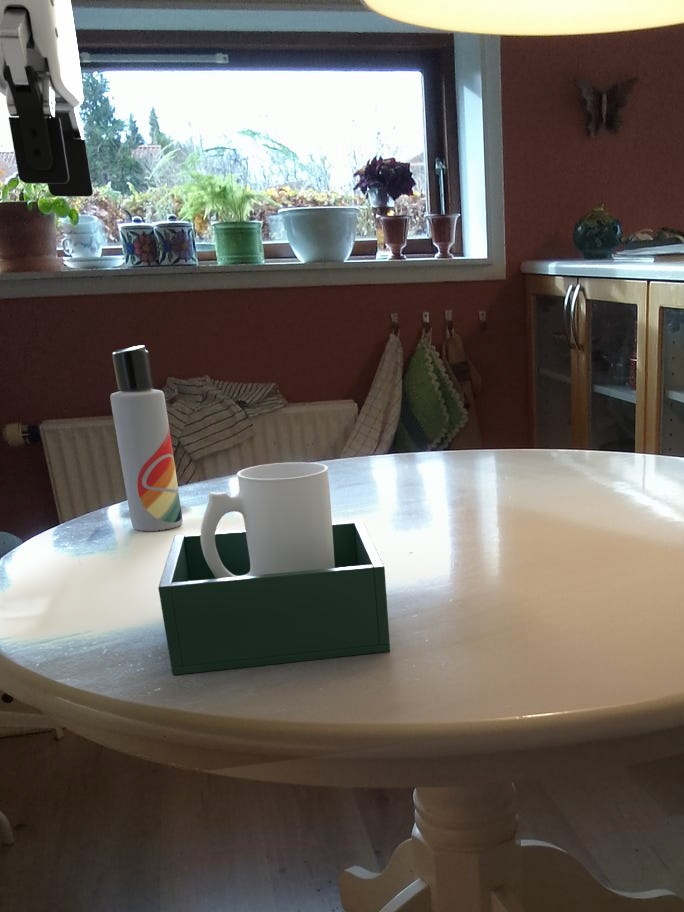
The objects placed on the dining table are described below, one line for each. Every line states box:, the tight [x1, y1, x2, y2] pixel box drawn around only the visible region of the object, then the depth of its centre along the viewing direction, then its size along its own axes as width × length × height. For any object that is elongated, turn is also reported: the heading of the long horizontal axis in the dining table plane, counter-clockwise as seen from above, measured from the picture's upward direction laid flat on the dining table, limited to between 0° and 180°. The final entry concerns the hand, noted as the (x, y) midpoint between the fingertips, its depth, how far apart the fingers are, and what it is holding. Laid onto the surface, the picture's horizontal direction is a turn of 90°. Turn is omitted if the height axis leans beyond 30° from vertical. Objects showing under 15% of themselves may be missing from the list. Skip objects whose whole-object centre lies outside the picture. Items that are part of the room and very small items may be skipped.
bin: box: [157, 520, 391, 676], centre depth 73 cm, size 16×15×7 cm
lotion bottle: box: [109, 345, 183, 532], centre depth 104 cm, size 6×6×20 cm
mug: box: [200, 461, 335, 579], centre depth 71 cm, size 10×7×12 cm, turn 113°
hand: (59, 189), depth 69 cm, fingers open, 9 cm apart
